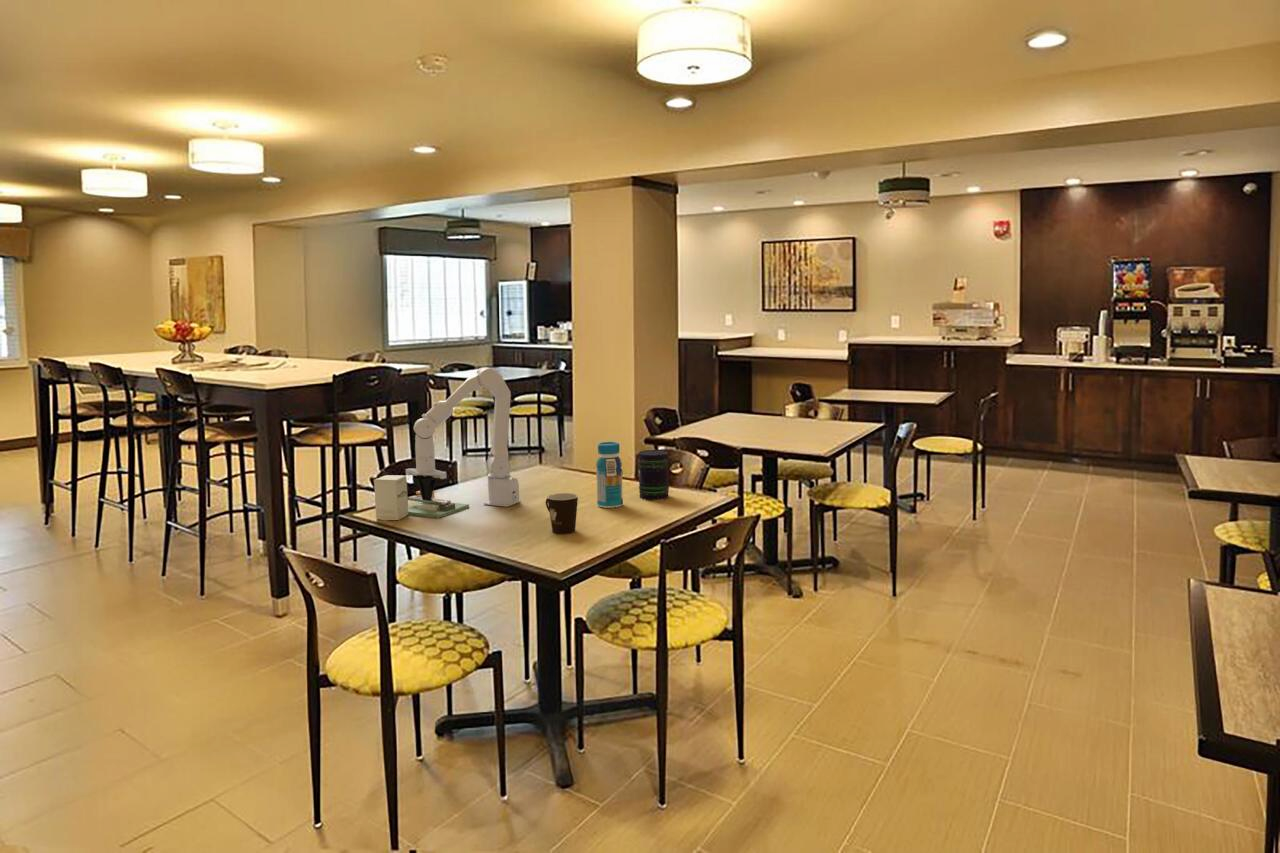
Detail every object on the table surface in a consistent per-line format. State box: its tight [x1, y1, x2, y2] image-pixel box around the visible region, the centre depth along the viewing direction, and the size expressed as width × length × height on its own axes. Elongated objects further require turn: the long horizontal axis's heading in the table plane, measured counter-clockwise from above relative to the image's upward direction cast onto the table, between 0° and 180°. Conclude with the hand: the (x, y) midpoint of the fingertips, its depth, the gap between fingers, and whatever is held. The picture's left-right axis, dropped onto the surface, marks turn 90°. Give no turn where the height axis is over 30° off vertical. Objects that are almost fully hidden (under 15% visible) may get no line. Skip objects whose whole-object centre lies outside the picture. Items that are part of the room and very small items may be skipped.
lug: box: [415, 490, 436, 499], centre depth 274 cm, size 3×5×4 cm, turn 154°
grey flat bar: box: [408, 495, 452, 505], centre depth 268 cm, size 14×4×1 cm, turn 64°
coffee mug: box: [545, 492, 579, 535], centre depth 241 cm, size 12×9×10 cm
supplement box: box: [373, 474, 409, 521], centre depth 259 cm, size 7×7×13 cm
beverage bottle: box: [595, 441, 624, 509], centre depth 268 cm, size 8×8×20 cm
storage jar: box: [638, 449, 670, 501], centre depth 280 cm, size 10×10×15 cm
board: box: [408, 501, 470, 519], centre depth 268 cm, size 18×15×2 cm
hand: (427, 499), depth 268 cm, fingers closed, pressing on grey flat bar
